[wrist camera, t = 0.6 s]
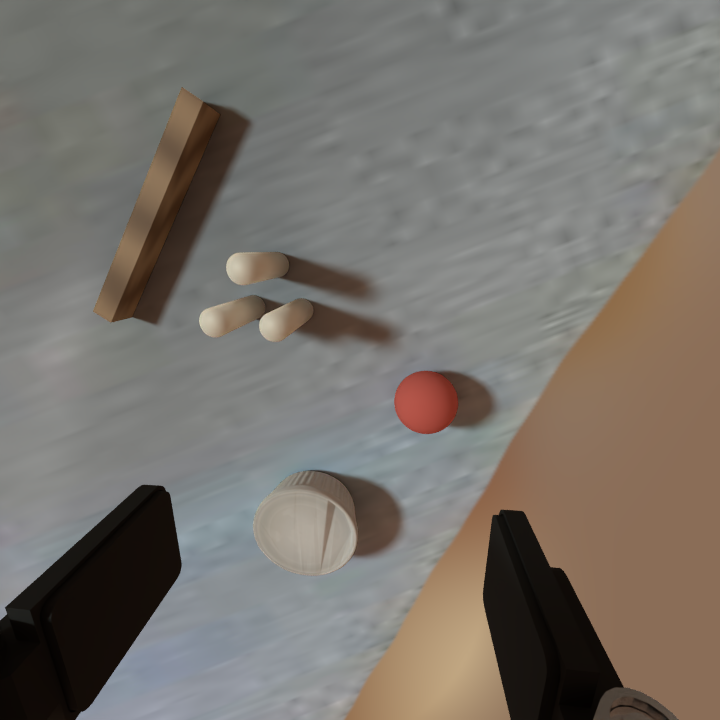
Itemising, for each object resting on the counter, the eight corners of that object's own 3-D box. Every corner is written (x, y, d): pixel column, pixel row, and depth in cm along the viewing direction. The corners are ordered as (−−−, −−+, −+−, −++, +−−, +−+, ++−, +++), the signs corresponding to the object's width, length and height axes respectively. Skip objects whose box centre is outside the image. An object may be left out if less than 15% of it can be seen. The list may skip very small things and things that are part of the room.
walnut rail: (200, 101, 33) (181, 86, 30) (220, 114, 33) (203, 101, 30) (115, 306, 39) (93, 311, 36) (131, 317, 39) (110, 322, 37)
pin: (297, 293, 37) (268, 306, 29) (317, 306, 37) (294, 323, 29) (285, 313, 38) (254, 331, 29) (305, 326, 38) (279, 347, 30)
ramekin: (377, 526, 44) (374, 562, 39) (295, 551, 46) (283, 587, 41) (337, 448, 42) (328, 476, 36) (253, 478, 44) (234, 508, 39)
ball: (417, 351, 37) (419, 370, 31) (465, 384, 38) (477, 408, 32) (383, 396, 39) (380, 422, 33) (430, 427, 39) (435, 457, 34)
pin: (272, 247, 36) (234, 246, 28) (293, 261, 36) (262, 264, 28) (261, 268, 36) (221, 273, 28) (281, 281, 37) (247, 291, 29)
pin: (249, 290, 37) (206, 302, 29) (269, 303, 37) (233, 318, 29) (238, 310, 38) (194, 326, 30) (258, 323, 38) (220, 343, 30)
